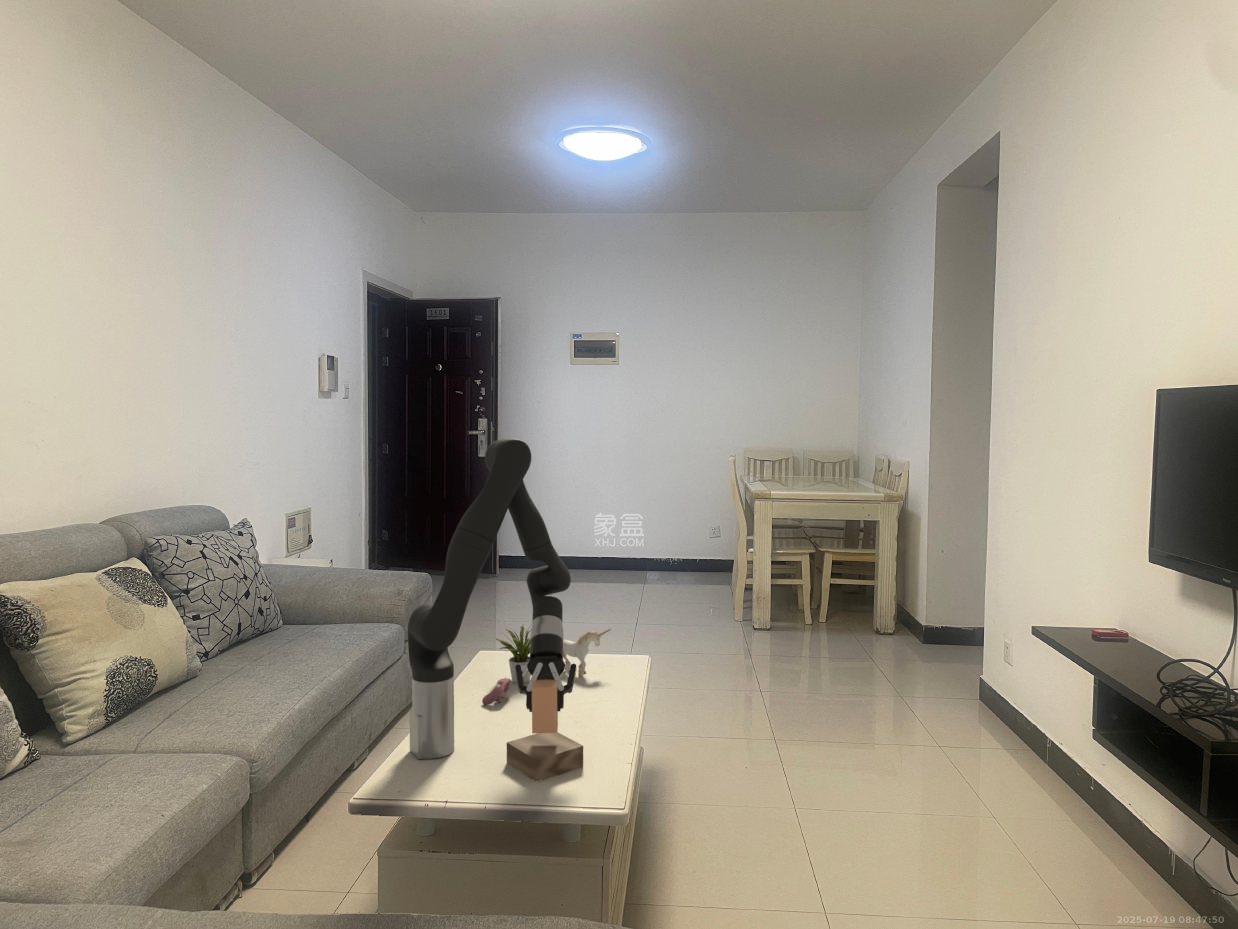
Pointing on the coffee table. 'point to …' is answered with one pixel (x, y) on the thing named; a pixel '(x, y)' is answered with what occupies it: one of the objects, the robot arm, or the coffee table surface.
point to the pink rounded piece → (497, 691)
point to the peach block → (544, 706)
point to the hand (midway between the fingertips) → (544, 710)
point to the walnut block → (544, 755)
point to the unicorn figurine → (581, 648)
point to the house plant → (518, 658)
